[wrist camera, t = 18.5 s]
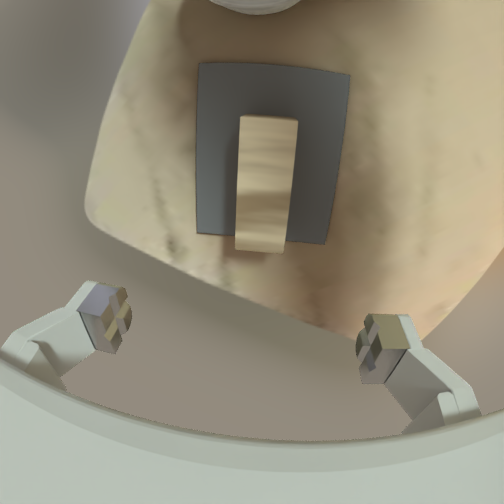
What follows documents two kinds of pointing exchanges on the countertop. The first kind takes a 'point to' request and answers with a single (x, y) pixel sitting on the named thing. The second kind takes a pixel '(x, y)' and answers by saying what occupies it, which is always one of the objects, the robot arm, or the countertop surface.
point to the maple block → (264, 181)
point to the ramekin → (256, 5)
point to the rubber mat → (276, 104)
